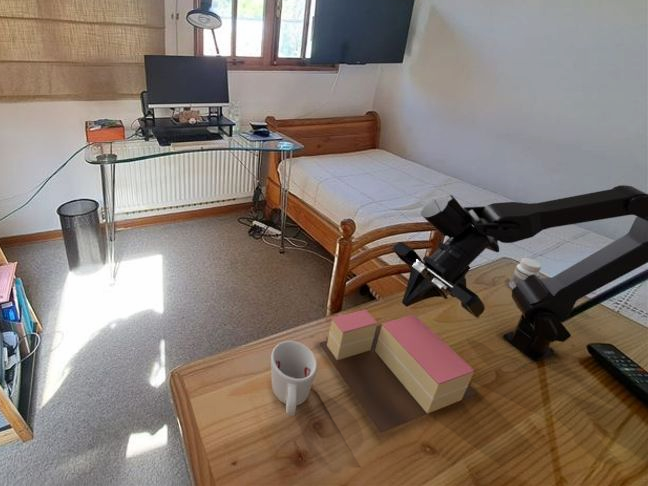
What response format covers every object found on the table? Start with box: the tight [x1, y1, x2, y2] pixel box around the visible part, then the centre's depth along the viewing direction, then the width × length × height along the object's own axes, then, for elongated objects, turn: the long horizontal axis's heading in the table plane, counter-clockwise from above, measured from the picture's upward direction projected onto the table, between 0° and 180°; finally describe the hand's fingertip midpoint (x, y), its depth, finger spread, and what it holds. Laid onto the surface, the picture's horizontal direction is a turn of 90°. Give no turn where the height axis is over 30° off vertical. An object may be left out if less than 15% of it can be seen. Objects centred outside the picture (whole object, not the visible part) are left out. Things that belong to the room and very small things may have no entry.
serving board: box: [318, 324, 478, 434], centre depth 66 cm, size 22×18×1 cm
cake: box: [375, 314, 475, 415], centre depth 63 cm, size 8×13×8 cm, turn 18°
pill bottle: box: [509, 257, 542, 290], centre depth 88 cm, size 5×5×8 cm
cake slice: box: [327, 309, 378, 360], centre depth 68 cm, size 8×4×8 cm, turn 108°
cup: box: [270, 340, 318, 417], centre depth 59 cm, size 11×8×8 cm
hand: (404, 304), depth 70 cm, fingers closed
